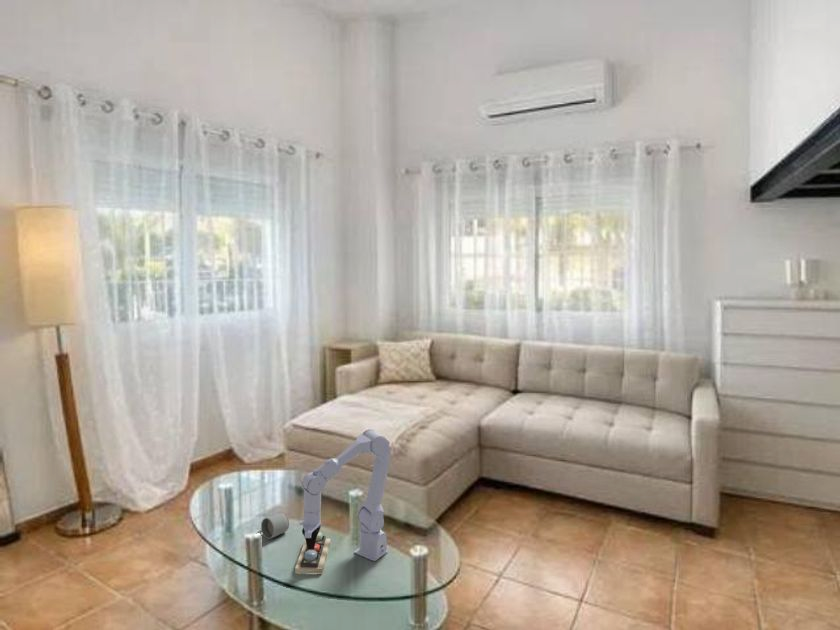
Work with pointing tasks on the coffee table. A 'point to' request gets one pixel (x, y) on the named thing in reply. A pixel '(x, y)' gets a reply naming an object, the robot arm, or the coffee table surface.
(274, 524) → the ceramic mug
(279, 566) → the coffee table surface
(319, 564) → the button panel
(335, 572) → the coffee table surface
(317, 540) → the sage green button
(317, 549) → the red button
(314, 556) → the slate blue button
